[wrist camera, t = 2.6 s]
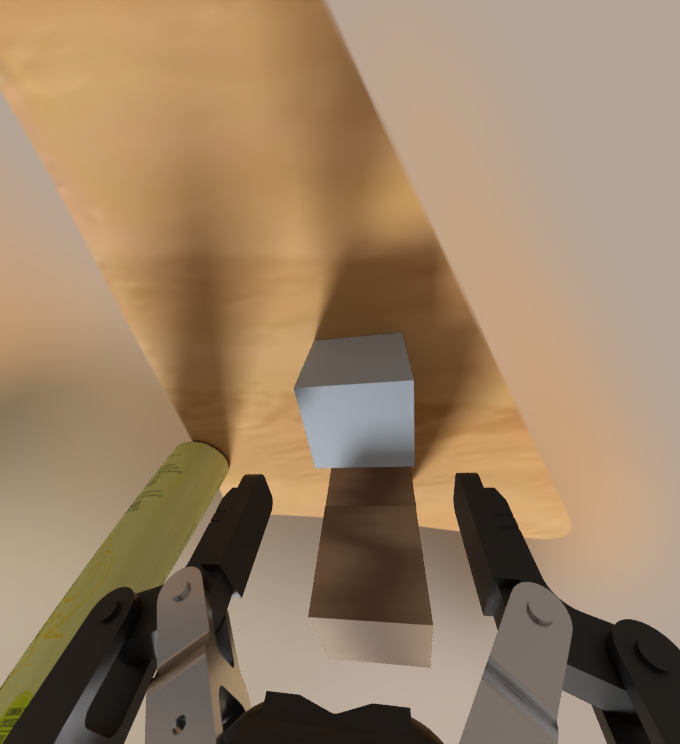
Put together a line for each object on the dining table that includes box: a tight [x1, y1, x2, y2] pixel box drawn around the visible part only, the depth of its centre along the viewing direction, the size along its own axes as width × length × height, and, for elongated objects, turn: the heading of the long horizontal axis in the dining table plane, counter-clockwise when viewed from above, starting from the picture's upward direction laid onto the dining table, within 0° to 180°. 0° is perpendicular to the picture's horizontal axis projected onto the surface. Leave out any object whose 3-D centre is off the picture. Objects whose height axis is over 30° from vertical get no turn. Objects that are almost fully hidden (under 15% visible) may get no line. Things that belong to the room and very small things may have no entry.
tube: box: [0, 442, 228, 744], centre depth 16 cm, size 6×5×20 cm
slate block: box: [294, 332, 415, 468], centre depth 16 cm, size 6×6×6 cm
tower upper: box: [308, 506, 433, 668], centre depth 16 cm, size 6×6×6 cm
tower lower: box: [326, 466, 416, 506], centre depth 21 cm, size 6×6×6 cm
